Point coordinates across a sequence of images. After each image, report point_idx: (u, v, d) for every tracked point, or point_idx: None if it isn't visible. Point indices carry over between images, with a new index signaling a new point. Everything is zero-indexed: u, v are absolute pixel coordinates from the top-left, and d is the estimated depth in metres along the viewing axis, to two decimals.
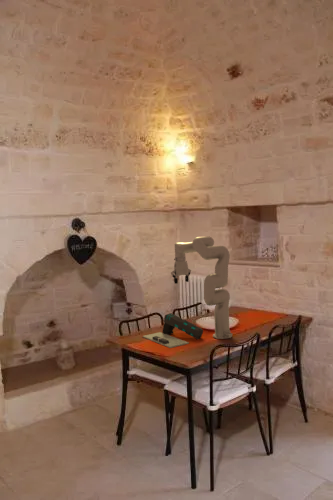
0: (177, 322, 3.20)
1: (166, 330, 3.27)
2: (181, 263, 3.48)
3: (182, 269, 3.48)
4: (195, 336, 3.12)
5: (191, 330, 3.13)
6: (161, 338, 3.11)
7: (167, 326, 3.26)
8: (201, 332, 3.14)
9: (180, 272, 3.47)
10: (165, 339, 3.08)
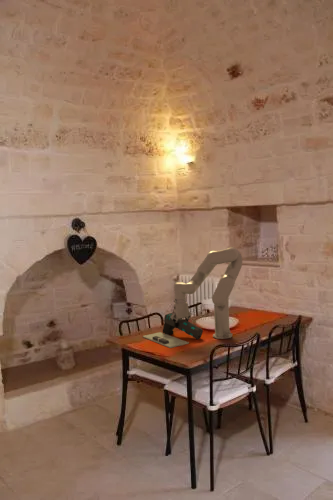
0: None
1: (166, 330, 3.27)
2: (181, 305, 3.18)
3: (183, 311, 3.18)
4: (195, 336, 3.12)
5: (191, 330, 3.12)
6: (161, 338, 3.11)
7: (167, 326, 3.26)
8: (201, 332, 3.13)
9: (180, 315, 3.18)
10: (165, 339, 3.08)
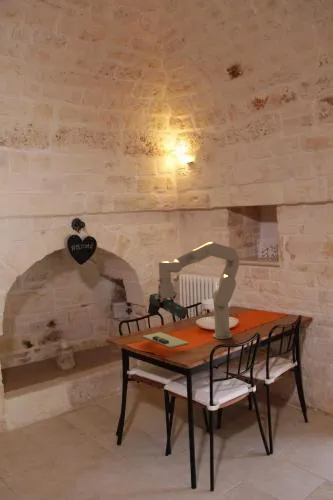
0: None
1: (151, 310, 3.20)
2: (166, 285, 3.10)
3: (167, 291, 3.11)
4: (179, 316, 3.04)
5: (175, 310, 3.05)
6: (161, 338, 3.11)
7: (152, 306, 3.19)
8: (185, 312, 3.05)
9: (165, 295, 3.10)
10: (165, 339, 3.08)
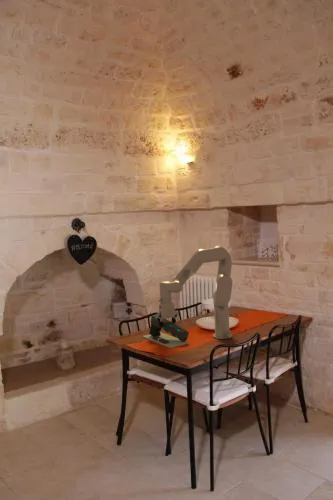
0: (163, 324, 3.14)
1: (153, 331, 3.21)
2: (167, 305, 3.11)
3: (168, 311, 3.12)
4: (180, 338, 3.05)
5: (176, 332, 3.06)
6: (161, 338, 3.11)
7: (154, 327, 3.20)
8: (186, 334, 3.06)
9: (165, 315, 3.11)
10: (165, 339, 3.08)
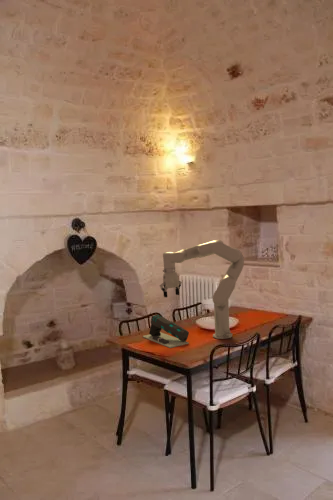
0: (163, 324, 3.14)
1: (153, 331, 3.21)
2: (171, 275, 3.16)
3: (172, 281, 3.17)
4: (180, 338, 3.05)
5: (176, 332, 3.06)
6: (161, 338, 3.11)
7: (154, 327, 3.20)
8: (186, 334, 3.06)
9: (170, 285, 3.16)
10: (165, 339, 3.08)
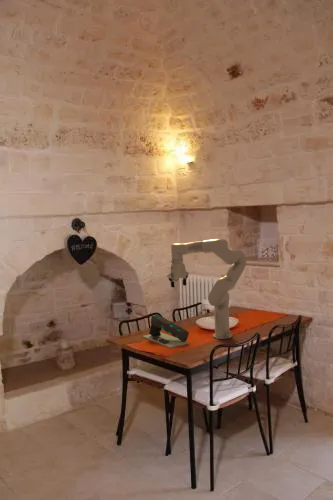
0: (163, 324, 3.14)
1: (153, 331, 3.21)
2: (178, 265, 3.26)
3: (180, 272, 3.26)
4: (180, 338, 3.05)
5: (176, 332, 3.06)
6: (161, 338, 3.11)
7: (154, 327, 3.20)
8: (186, 334, 3.06)
9: (177, 275, 3.25)
10: (165, 339, 3.08)
